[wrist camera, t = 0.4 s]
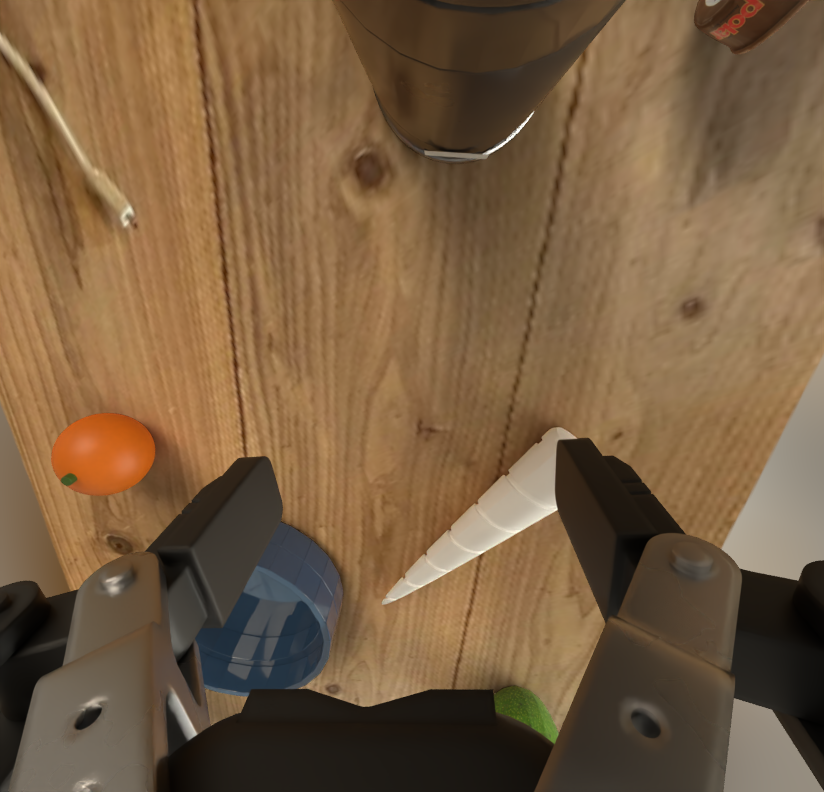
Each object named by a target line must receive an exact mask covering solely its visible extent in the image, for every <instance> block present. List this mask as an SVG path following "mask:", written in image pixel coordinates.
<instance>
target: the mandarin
mask: <svg viewBox="0 0 824 792" xmlns="http://www.w3.org/2000/svg"><path fill="white" fill-rule="evenodd" d="M154 457H155V444H154V441H153V438H152V436H151V434H150V432H149V431H148V430H147V428H146V427H145V426H144V425H142V424H141V423H140V422H138V421H137V420H135V419H133V418H131V417H128V416H125V415H121V414H114V413H102V414H95V415H91V416H88V417H84V418H82V419H80V420H78V421H76V422H74V423H73V424H71V425H70V426H68V427H67V428H66V429H65V430H64V431H63V432H62V433H61V434H60V436H59V437H58V438H57V440H56V442H55V444H54V447H53V450H52V458H51V460H52V466H53V469H54V472H55V474H56V476H57V477H58V478H59V480H60V481H61V482H62V483H63V484H64V485H66V486H67V487H69V488H70V489H72V490H74V491H76V492H79V493H83V494H87V495H95V496H102V495H111V494H115V493H119V492H121V491H124V490H127V489H128V488H130V487H132V486H134V485H135V484H137V483H138V482H139V481H140V480H141V479H142V478H143V477H144V476H145V475H146V474H147V473H148V471H149V470H150V468H151V466H152V464H153V461H154Z"/></svg>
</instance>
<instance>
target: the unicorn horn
mask: <svg viewBox="0 0 824 792" xmlns="http://www.w3.org/2000/svg"><path fill="white" fill-rule="evenodd" d="M541 438H542V441H541V442H540V443H539V444H538V443H535V444H534V445H533V446H532V447H531V448H530V449H529V450H528V451H527V452H526V453H525V454H524V455H523V456H522V457H521V458H520V459H519V460H518V461H517V462H516V463H515V464H514V465H513V466H512V467H511V468H510V469H509V470H508V471H509V474H508V475H507V476H506V475H502V476H501V477H500V478H499V479H498V480H497V481H496V482H495V483H494V484H493V485H492V486H491V487H490V488H489V489H488V490H487V491H486V492H485V493H484V494H483V495H482V496H481V497H480V498H479V499H478V504H475V503H474V504H473V505H472V506H471V507H470V508H469V509H468V510H467V511H466V512H465V513H464V514H463V515H462V516H461V517H460V518H459V519H458V520H457V521H456V522H455V523H454V524H453V525H452V526H451V531H450V530H447V531H446V532H445V533H444V534H443V535H442V536H441V537H440V538H439V539H438V540H437V541H436V542H435V543H434V544H433V545H432V546H431V547H430V548H429V549H428V550H427V555H425V554H423V555H422V556H421V557H420V558H419V559H418V560H417V561H416V562H415V563H414V564H413V565H412V567H411V568H410V569H409V570H408V571H407V572H406V573H405V576H406V577H405V578H403V577H401V578H400V580H399V581H398V582H397V583H396V584H395V585H394V586H393V588H392V589H391V590H390V591H389V592H388V594H387V595H386V599H383V601H382V604H388V603H390V602H393V601H395V600H397V599H399V598H402V597H404V596H406V595H407V594H409V593H411V592H413V591H415V590H417V589H419V588H421V587H423V586H424V585H426V584H428V583H430V582H432V581H434V580H436V579H437V578H439V577H441V576H443V575H445V574H446V573H448V572H450V571H451V570H453V569H455V568H457V567H459V566H461V565H462V564H464V563H466V562H468V561H470V560H471V559H473V558H475V557H477V556H478V555H480V554H482V553H483V552H485V551H487V550H489V549H491V548H492V547H494V546H496V545H498V544H499V543H501V542H503V541H504V540H506V539H508V538H510V537H511V536H513V535H515V534H516V533H518V532H520V531H521V530H523V529H525V528H527V527H529V526H530V525H532V524H534V523H535V522H537V521H539V520H541V519H542V518H544V517H546V516H548V515H549V514H551V513H553V512H555V511H556V510H558V509H557V505H556V499H555V470H556V448H557V442H558V440H561V439H578V438H576V437H575V436H574V435H572V434H571V433H570V432H568V431H566V430H565V429H563V428H561V427H555V428H551V429H550V430H549V431H547V432H546V433H545V434H544V435H543V436H542V437H541Z"/></svg>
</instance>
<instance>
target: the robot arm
mask: <svg viewBox="0 0 824 792" xmlns="http://www.w3.org/2000/svg"><path fill="white" fill-rule="evenodd" d="M333 2H334V5H335V7H336V9H337V11H338V13H339V15H340V18H341V20H342V22H343V24H344V26H345V28H346V30H347V33H348V35H349V37H350V39H351V41H352V43H353V45H354V48H355V50H356V52H357V54H358V56H359V58H360V60H361V63H362V65H363V67H364V69H365V71H366V73H367V75H368V78H369V80H370V82H371V84H372V86H373V89H374V92H375V96H376V99H377V101H378V104H379V106H380V108H381V111H382V113H383V115H384V116H385V118H386V120H387V122H388V124H389V125H390V127H391V128H392V130H393V131H394V132H395V134H396V135H397V136H398V137H399V138H400V139H401V140H402V141H403V142H404V143H405V144H406V145H407V146H408V147H409V148H411V149H412V150H414V151H415V152H416V153H418V154H420V155H422V156H424V157H426V158H428V159H431V160H434V161H437V162H442V163H451V164H459V163H467V162H472V161H476V160H479V159H487V157H488V156H489V155H491V154H492V153H494V152H496V151H497V150H499V149H500V148H502V147H503V146H504V145H506V144H507V143H508V142H509V141H510V140H511V139H512V138H514V137H515V136H516V135H517V133H518V132H519V131H520V130H521V129H522V128H523V126H524V125H525V124H526V123H527V121H528V120H529V119H530V117H531V116H532V114H533V112H534V111H535V109H536V108H537V107H538V106H539V105H540V103H541V102H542V101H543V100H544V99H545V97H546V96H547V95H548V94H549V92H550V91H551V90H552V89H553V88H554V86H555V85H556V84H557V83H558V82H559V80H560V79H561V78H562V77H563V76H564V74H565V73H566V72H567V71H568V69H569V68H570V67H571V66H572V65H573V63H574V62H575V61H576V60H577V59H578V57H579V56H580V55H581V54H582V53H583V51H584V50H585V49H586V48H587V46H588V45H589V44H590V43H591V42H592V40H593V39H594V38H595V37H596V36H597V34H598V33H599V32H600V31H601V30H602V28H603V27H604V26H605V25H606V23H607V22H608V21H609V20H610V19H611V17H612V16H613V15H614V14H615V13H616V11H617V10H618V9H619V8H620V7H621V5H622V4H623V3H624V2H625V0H333ZM555 499H556V505H557V509H558V512H559V514H560V517H561V519H562V522H563V524H564V526H565V529H566V531H567V533H568V536H569V538H570V540H571V543H572V545H573V547H574V550H575V552H576V554H577V557H578V559H579V562H580V564H581V566H582V569H583V571H584V573H585V576H586V578H587V580H588V583H589V585H590V587H591V590H592V592H593V595H594V597H595V599H596V602H597V604H598V606H599V609H600V611H601V613H602V616H603V618H604V620H605V623H606V625H605V627H604V629H603V632H602V634H601V636H600V639H599V641H598V643H597V646H596V648H595V650H594V653H593V655H592V657H591V660H590V662H589V664H588V667H587V669H586V671H585V674H584V676H583V679H582V681H581V683H580V686H579V688H578V690H577V693H576V695H575V697H574V700H573V702H572V704H571V707H570V709H569V711H568V714H567V716H566V718H565V721H564V723H563V725H562V728H561V730H560V732H559V735H558V737H557V740H556V742H555V744H554V743H553V742H551V741H550V740H549V739H547V738H546V737H545V736H544V735H542V734H541V733H539V732H538V731H536V730H535V729H533V728H531V727H530V726H528V725H526V724H525V723H523V722H520V721H518V720H516V719H514V718H512V717H510V716H507V715H503V714H500V713H497V712H496V710H495V701H494V693H493V690H461V689H431V690H427V691H424V692H420V693H417V694H413V695H410V696H406V697H403V698H399V699H396V700H392V701H389V702H385V703H382V704H378V705H375V706H370V707H361V706H357V705H354V704H351V703H348V702H345V701H342V700H339V699H336V698H333V697H330V696H327V695H324V694H321V693H318V692H315V691H312V690H309V689H251V690H250V693H249V695H248V698H247V700H246V702H245V705H244V707H243V710H242V712H241V713H238V714H235V715H233V716H230V717H228V718H226V719H223V720H221V721H219V722H217V723H215V724H214V725H212V726H211V724H210V719H209V714H208V707H207V700H206V694H205V687H204V680H203V674H202V667H201V660H200V654H199V648H198V644H197V642H196V640H195V637H196V636H197V634H198V632H199V631H200V629H201V628H223V626H224V625H225V623H226V621H227V619H228V617H229V615H230V614H231V612H232V610H233V608H234V606H235V604H236V603H237V601H238V599H239V597H240V595H241V593H242V592H243V590H244V588H245V586H246V584H247V582H248V581H249V579H250V577H251V575H252V573H253V571H254V570H255V568H256V566H257V564H258V562H259V560H260V559H261V557H262V555H263V553H264V551H265V549H266V548H267V546H268V544H269V542H270V540H271V538H272V537H273V535H274V533H275V531H276V529H277V527H278V526H279V524H280V521H281V518H282V511H283V505H282V499H281V496H280V492H279V489H278V485H277V482H276V478H275V475H274V471H273V468H272V464H271V462H270V460H269V458H267V457H265V456H262V457H246V458H238V459H237V460H236V461H235V462H234V463H233V464H232V465H231V466H230V468H229V469H228V470H227V471H226V472H225V473H224V474H223V476H220V477H219V478H217V479H216V480H214V481H213V482H211V483H210V484H208V485H207V486H205V487H204V488H203V489H202V490H201V491H200V492H199V493H198V494H197V495H196V496H195V497H194V499H193V500H192V503H189V504H188V505H187V506H186V507H185V508H184V509H183V511H182V514H179V515H178V516H177V517H176V518H175V519H174V520H173V521H172V523H171V524H170V525H169V526H168V527H167V528H166V529H165V530H164V531H163V532H162V533H161V534H160V536H159V537H158V538H157V539H156V540H155V541H154V542H153V543H152V544H151V545H150V546H149V548H148V549H147V550H146V551H145V552H135V553H131V554H127V555H125V556H122V557H119V558H117V559H115V560H113V561H111V562H109V563H107V564H106V565H104V566H103V567H101V568H100V569H98V570H97V571H96V572H94V573H93V574H92V575H91V576H90V577H89V578H88V579H87V580H86V581H85V582H84V583H83V584H82V585H81V587H80V589H78V590H74V591H71V592H67V593H63V594H60V595H56V596H52V597H49V598H46V597H45V596H44V594H43V593H42V591H41V589H40V588H39V586H38V585H37V583H35V582H33V581H20V582H16V583H12V584H9V585H6V586H3V587H0V792H723V790H724V781H725V771H726V763H727V754H728V745H729V735H730V727H731V718H732V709H733V700H734V698H736V699H739V700H742V701H746V702H749V703H752V704H755V705H759V706H762V707H765V708H768V709H772V710H773V712H774V713H775V715H776V716H777V718H778V720H779V721H780V723H781V724H782V726H783V727H784V729H785V731H786V732H787V734H788V735H789V737H790V738H791V740H792V741H793V743H794V745H795V746H796V748H797V749H798V751H799V753H800V754H801V756H802V757H803V759H804V760H805V762H806V764H807V765H808V767H809V768H810V770H811V771H812V773H813V775H814V776H815V778H816V779H817V781H818V782H819V784H820V786H821V787H822V789H823V790H824V560H823V561H815V562H811V563H809V564H807V565H806V566H805V567H804V568H803V571H802V573H801V576H800V578H799V581H797V580H791V579H787V578H782V577H776V576H771V575H766V574H761V573H756V572H751V571H747V570H743V569H740V568H739V567H738V565H737V564H736V563H735V561H734V560H733V559H732V558H731V557H730V556H729V555H728V554H726V553H725V552H724V551H722V550H721V549H720V548H718V547H716V546H715V545H713V544H711V543H709V542H707V541H705V540H702V539H699V538H697V537H693V536H690V535H686V534H685V533H684V531H683V530H682V529H681V528H680V527H679V525H678V524H677V523H676V522H675V520H674V519H673V518H672V517H671V515H670V514H669V513H668V512H667V511H666V509H665V508H664V507H663V506H662V504H661V503H660V502H659V501H658V499H657V498H656V497H655V496H654V495H653V494H651V491H650V490H649V488H648V487H647V486H646V485H645V484H644V483H642V481H641V479H640V477H639V476H638V475H637V474H636V472H635V471H634V470H633V469H632V468H631V466H629V465H627V464H626V463H624V462H623V461H621V460H619V459H618V458H616V457H614V456H602V454H601V453H600V452H599V450H598V449H597V448H596V446H595V445H594V443H593V442H592V441H591V440H590V439H589V438H578V439H561V440H558V442H557V448H556V470H555Z"/></svg>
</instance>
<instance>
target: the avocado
mask: <svg viewBox="0 0 824 792" xmlns="http://www.w3.org/2000/svg"><path fill="white" fill-rule="evenodd" d="M494 701H495V710H496V712H497V713H500V714H503V715H507V716H510V717H512V718H514V719H516V720H518V721H520V722H523V723H525V724H526V725H528V726H530V727H531V728H533V729H535V730H536V731H538V732H539V733H541V734H542V735H544V736H545V737H546V738H547V739H549V740H550V741H551V742H553V743H554V744H555V742H556V740H557V737H558V735H559V733H558V731H557V728H556V726H555V724H554V722H553V720H552V718H551V716H550V714H549V712H548V710H547V709H546V707H545V705H544V704H543V702H542V701H541V700H540V699H539V698H538V697H537V696H536V695H535V694H533V693H532V692H531V691H529V690H527V689H524V688H521V687H518V686H510V687H506V688H503V689H501V690H500V691H498V692H497V693H496V694H494Z"/></svg>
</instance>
